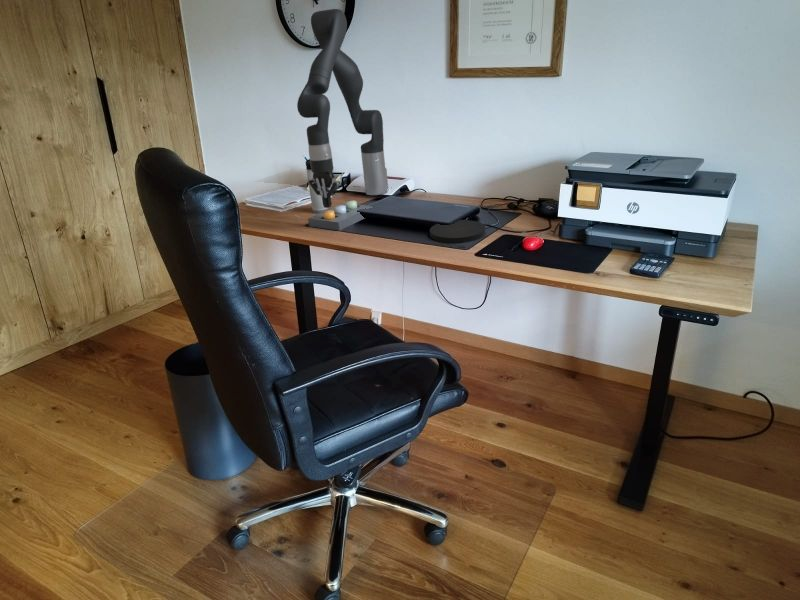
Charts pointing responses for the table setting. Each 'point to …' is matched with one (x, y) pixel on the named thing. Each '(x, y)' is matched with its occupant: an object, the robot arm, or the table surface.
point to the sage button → (351, 204)
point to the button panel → (338, 219)
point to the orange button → (329, 215)
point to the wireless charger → (458, 232)
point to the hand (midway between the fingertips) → (327, 207)
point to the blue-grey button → (340, 209)
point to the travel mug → (315, 199)
